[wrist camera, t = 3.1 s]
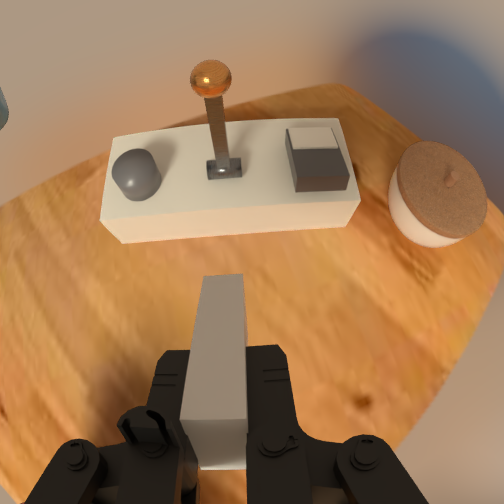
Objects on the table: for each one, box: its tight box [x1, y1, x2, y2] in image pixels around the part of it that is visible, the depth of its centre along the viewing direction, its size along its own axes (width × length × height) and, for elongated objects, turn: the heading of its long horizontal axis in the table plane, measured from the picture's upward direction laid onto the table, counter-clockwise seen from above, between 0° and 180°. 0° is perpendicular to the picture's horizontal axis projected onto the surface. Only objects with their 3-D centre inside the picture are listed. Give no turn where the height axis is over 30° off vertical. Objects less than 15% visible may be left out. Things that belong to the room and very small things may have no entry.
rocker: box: [285, 127, 350, 193], centre depth 27 cm, size 4×6×2 cm
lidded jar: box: [388, 141, 487, 248], centre depth 30 cm, size 11×11×9 cm
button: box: [111, 148, 161, 201], centre depth 28 cm, size 4×4×3 cm
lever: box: [190, 60, 242, 180], centre depth 23 cm, size 3×3×13 cm
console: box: [100, 118, 361, 244], centre depth 32 cm, size 24×10×6 cm, turn 94°
